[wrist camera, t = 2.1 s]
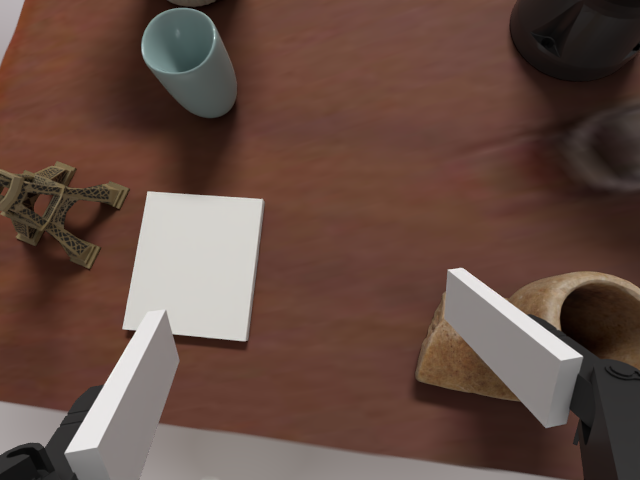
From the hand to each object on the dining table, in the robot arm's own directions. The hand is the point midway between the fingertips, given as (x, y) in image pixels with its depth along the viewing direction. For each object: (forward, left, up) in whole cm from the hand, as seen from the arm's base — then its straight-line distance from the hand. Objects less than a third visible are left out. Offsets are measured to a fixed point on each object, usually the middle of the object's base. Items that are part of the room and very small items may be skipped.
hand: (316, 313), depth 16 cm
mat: (-4, -16, -22) cm, 27 cm away
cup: (-25, -17, -22) cm, 37 cm away
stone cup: (+1, +17, -22) cm, 28 cm away
